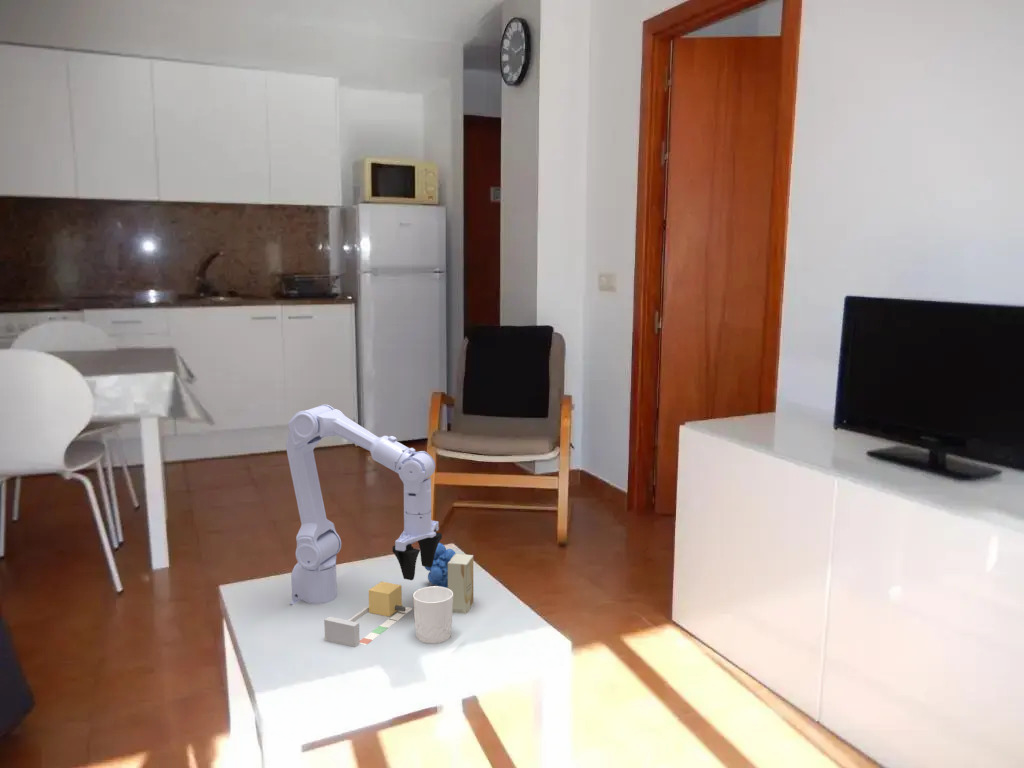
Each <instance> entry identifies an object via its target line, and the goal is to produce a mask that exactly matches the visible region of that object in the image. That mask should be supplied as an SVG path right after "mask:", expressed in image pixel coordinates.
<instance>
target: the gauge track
mask: <svg viewBox="0 0 1024 768" xmlns="http://www.w3.org/2000/svg"><path fill="white" fill-rule="evenodd" d="M404 607H405V609H406V611H404V612H403V611H397V612H395V613H394V615H391V616H390V617H389V618H388V619H386V620H385V621H384V622H383V623H381V624H380V625H378V626H377V627H376V628H375V629H373V630H372V631H371V632H370V633H368V634H367V635H366V636H364V637H363V638H361V639H360V623H359V622H358V621H357V620H358V619H360V618H362V617H363V616H364V615H366V614H367V613H369V605H367V606H366V607H364V608H363V609H362V610H360V611H359V612H357V613H356V614H355V615H353V616H352V617H350V618H349V619H344V618H338V617H333V616H328V617H326V618H325V619H324V620H323V621H324V623H323V624H324V641H325V642H331V643H335V644H340V645H344V646H348V647H349V646H350V647H353V648H357V646H359V645H360V646H361V645H362V646H367V645H368V644H370V643H371V642H372V641H373V640H374V639H376V638H377V637H378V636H380V635H382V634H383V633H384V632H386V631H387V630H388V629H389V628H390V627H391V626H393V625H394V624H395V623H397V622H398V621H399V620H401V619H402V618H403V617H404V616H405V615H407V614H408V613H409V612H411V611H412V610H414V607H413V608H412V607H407V606H404ZM356 621H357V622H356Z"/></svg>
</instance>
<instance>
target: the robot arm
mask: <svg viewBox="0 0 1024 768" xmlns="http://www.w3.org/2000/svg"><path fill="white" fill-rule="evenodd" d="M287 427H288V435H287V439H286V445H285V449H286V454H287V460H288V464H289V469H290V475H291V479H292V484H293V490H294V494H295V498H296V503H297V509H298V514H299V518H300V519H299V520H300V524H301V525H300V528H299V529H298V532H297V534H296V536H295V537H296V538H295V539H296V549H295V559H296V561H297V563H296V564H295V565H293V566H294V567H293V568H292V571H291V577H290V579H291V601H290V602H289V605H290V606H293V605H295V604H297V602H300V601H303V602H306V603H309V604H315V605H317V604H326V603H329V602H332V601H334V600H336V598H337V597H338V589H337V588H338V584H337V583H338V581H337V554H338V553H339V552H340V551H341V550H342V540H341V536H340V535H339V534H338V533H337V530H336V527H335V523H334V522H333V521H331V520H329V519H328V518H327V515H326V514H327V513H326V509H325V505H324V504H325V503H324V500H323V494H322V489H321V483H320V478H319V474H318V473H319V472H318V468H317V464H316V458H315V453H314V449H315V448H316V446H317V445H319V443H320V442H321V440H322V439H323V438H327V437H328V438H329V437H337V436H338V437H340V438H342V439H344V440H347V441H348V442H351V443H353V444H355V445H357V446H359V447H361V448H363V449H364V450H367V451H369V452H370V455H371V458H372V460H374V461H375V462H377V463H379V464H380V465H383V467H385V468H388V469H390V471H393V472H394V473H397V474H398V476H399V477H398V478H399V479H400V480H401V482H402V483H403V531H402V532H401V534H400V535H399V537H398V538H397V539H396V540H395V542H394V545H393V546H392V553H393V554H394V556H395V557H396V559H397V561H398V564H399V567H400V570H401V573H402V576H403V579H404V580H408V581H414V579H415V575H416V565H417V560H418V556H419V554H420V562H421V566H422V567H424V566H425V567H432V564H433V560H434V556H435V552H436V549H437V546H438V544H439V543H441V542H440V541H441V539H442V538H443V534H442V533H441V532H437V531H439V529H440V527H439V521H437V520H432V477H431V476H432V475H433V474H434V472H435V469H436V463H435V459H434V458H433V457H432V456H431V454H429V453H428V452H427V451H425V450H421V451H416V449H415V448H414V447H408V446H406V445H404V444H403V443H401V442H399V441H397V440H398V439H397V437H395V436H393V435H390V436H388V435H383V436H380V437H379V436H378V435H376V434H374V433H372V432H371V431H369V430H368V429H366V428H365V427H363V426H362V425H360V424H358V423H357V422H355V421H354V420H353V419H351V418H349V417H347V416H346V415H345V414H344V413H343V412H342V411H341V410H339V409H336V408H334V407H333V406H331V405H329V404H326V403H325V404H320V405H318V406H316V407H312V408H309V409H307V410H300V411H298V412H296V413H295V414H294V415H293V416H292V418H291V419H290V420H289V421H288V422H287ZM417 542H418V546H419V549H418V548H414V546H412V545H413V544H414V543H417ZM425 567H424V568H425Z"/></svg>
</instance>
